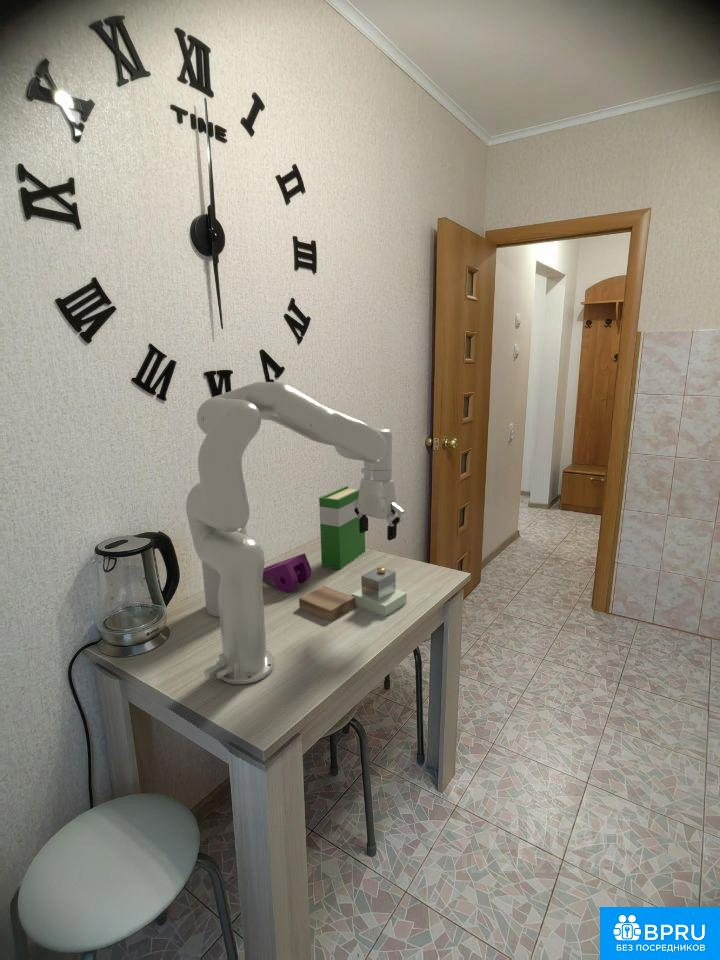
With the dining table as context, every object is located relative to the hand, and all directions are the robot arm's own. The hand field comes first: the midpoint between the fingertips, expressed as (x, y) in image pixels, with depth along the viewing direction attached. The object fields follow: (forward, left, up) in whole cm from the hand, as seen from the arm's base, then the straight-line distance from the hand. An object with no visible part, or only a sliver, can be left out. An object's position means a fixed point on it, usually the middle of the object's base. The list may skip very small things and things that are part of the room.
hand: (377, 535), depth 135 cm
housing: (0, 0, -18) cm, 18 cm away
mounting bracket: (-8, +33, -21) cm, 40 cm away
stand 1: (-11, +10, -21) cm, 25 cm away
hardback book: (+19, +30, -21) cm, 41 cm away
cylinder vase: (-28, +32, -21) cm, 47 cm away
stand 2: (0, 0, -21) cm, 21 cm away
